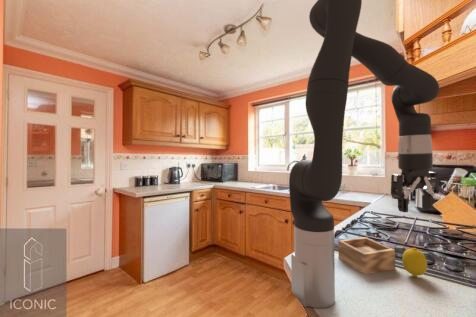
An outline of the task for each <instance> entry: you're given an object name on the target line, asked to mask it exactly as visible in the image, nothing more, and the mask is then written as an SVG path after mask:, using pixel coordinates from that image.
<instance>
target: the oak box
mask: <svg viewBox="0 0 476 317" xmlns="http://www.w3.org/2000/svg"><path fill="white" fill-rule="evenodd" d="M337 242H338V259H341V261H343V262H345V263H347V264H348V265H350V266H351V267H352V268H355V270H357V271H359V272H360V273H361V274H364V275H369V274H373V273H380V272H384V271H390V270H395V269H396V249H394V248H392V247H389V246H388V245H385V244H383V243H380V242H378V241H376V240H373V239H371V238H369V237H367V236H362V237H357V238H354V237H353V238H349V239H348V238H347V239H340V240H339V239H338V241H337Z"/></svg>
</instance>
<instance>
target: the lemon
mask: <svg viewBox="0 0 476 317" xmlns="http://www.w3.org/2000/svg"><path fill="white" fill-rule="evenodd" d="M401 259H402V260H401V261H402V266H403V268H404V270H406V272H407V273H409V274H411V276H413V277H416V278H417V276H423V275H424V274H425V273H426V272H427V270H428V261H427V257H426V256H425V254H424V253H423V252H422V251H420V250H419V249H417V248H416V247H411V248H407V249H406V250H404V252H403V254H402V258H401Z"/></svg>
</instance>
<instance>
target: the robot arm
mask: <svg viewBox="0 0 476 317" xmlns="http://www.w3.org/2000/svg"><path fill="white" fill-rule="evenodd" d="M362 1H363V0H316V2H315V3H314V4H313V6H312V7H311V9H310V12H309V15H308V16H309V17H308V18H309V23H310V25H311V27H312V29H313V30H314V32H315V33H317V34H318V35H320V36H321V37H322V38H323V42H322V44H321V46H320V49H319V52H318V54H317V56H316V58H315V60H314V63H313V66H312V67H311V70H310V73H309V76H308V80H307V85H306V96H305V109H306V110H305V111H306V115H307V117H308V120H309V122H310V123H309V124H310V125H311V128H312V131H313V136H314V140H313V141H314V144H313V152H312V153H313V154H312V158H311V159H302V160H299V161H297V162H296V163H294V165H293V166H292V167H291V169H290V173H289V180H288V184H289V185H288V188H289V206H290V211H291V212H290V213H291V215H292V217H293V224H294V225H293V228H294V230H293V232H294V234H293V235H294V237H293V238H294V241H293V242H294V245H293V247H294V253H293V254H291V255H290V256H291V257H290V260H291V261H290V263H291V264H290V265H291V266H290V268H291V293H292V294H293V295H294V296H295V297H296V299H297V301H299V302H300V304H301V305H302V306H303V307H311V308H314V309H315V308H317V309H325V308H329V307H331V306H333V305H334V303H335V301H336V300H335V299H336V290H335V289H336V286H335V284H336V281H335V280H336V278H335V274H336V272H335V270H336V268H335V218H334V216H333V214H332V213H331V212H330V211H329V210H328V209H327V208H326V207H325V205H324V203H323V202H329V201H331V200H333V199H335V197H336V196H337V195H338V193H339V191H340V189H341V186H342V179H343V137H344V127H345V125H344V124H345V115H346V114H345V113H346V107H347V100H348V92H349V83H350V81H349V80H350V70H351V63H352V58H353V59H355V60H357V61H358V62H359V63H360V64H362V65H363V66H364V67H365V68H366V69H367V70H369V72H371V74H373V76H374V77H375V78H376V79H378V80H379V81H380V82H381V84H383V85H385V86H387V87H392V86H394V88H393V90H392V92H391V96H390V100H391V104H392V107H393V110H394V113H395V116H396V118H397V121H398V141H397V142H398V143H397V153H398V154H397V155H398V156H397V160H398V161H397V162H398V163H397V165H398V166H397V167H398V169H399V170H401V173H399V174H398V173H392V174H391V177H390V178H391V180H390V181H391V182H390V195H391V196H394V197H397V208H398V209H397V210H398V211H399V212H401V213H408V212H409V198H408V197H409V196H410V194H411V193H413V192H414V190H419V191H420V192H421V194H422V195H421V197H422V198H421V208H422V209H424V210H429V211H431V210H432V209H433V197H434V196H435V194H439V193H440V184H439V183H440V181H439V180H440V179H439V172H437V171H436V172H435V171H429V170H432V169H433V168H434V165H433V164H434V163H433V154H434V153H433V139H432V120H431V116H430V115H429V114H428V113H425V112H417V110H416V109H415V106H417V105H422V104H426V103H430V102H432V101H434V100H435V99H436V98H437V97H438V95H439V93H440V84H439V81H438V80H437V79H436V77H434V76H433V75H432V74H430V73H429V72H427V71H425V70H423V69H422V68H420V67H417V66H416V65H414V64H411V63H409V62H408V61H407V60H406V59H405V57H404V56H402V55H401V54H400V52H399V51H398V50H396V48H394V47H393V46H392V45H390V44H388V43H387V42H385V41H381V40H378V39H375V38H372V37H369V36H366V35H363V34H361V33H359V32H357V28H358V24H359V20H360V15H361V10H362ZM432 185H433V186H432Z"/></svg>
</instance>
